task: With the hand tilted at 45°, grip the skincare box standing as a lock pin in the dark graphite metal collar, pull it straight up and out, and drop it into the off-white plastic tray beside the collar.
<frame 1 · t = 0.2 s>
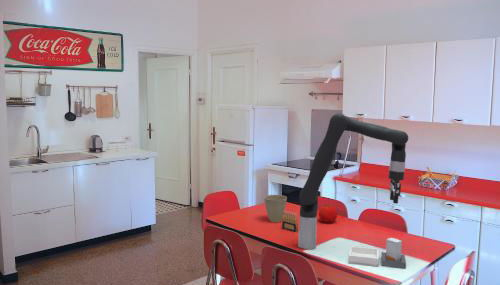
hand: (393, 201, 217), 28 cm above the table, tool pointing down, fingers open, 8 cm apart
tray: (363, 259, 214), on the table
plant pot: (275, 221, 279), on the table
ammunition clip: (289, 230, 260), on the table
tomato: (327, 222, 278), on the table
pin collar: (393, 263, 210), on the table
skincare box: (393, 263, 210), resting in pin collar
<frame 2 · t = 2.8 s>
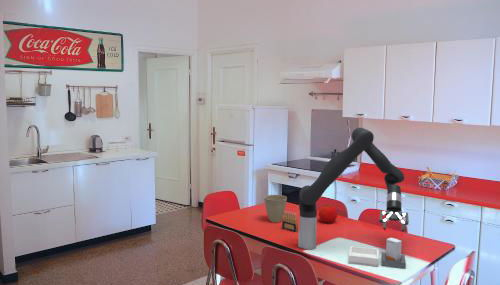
hand: (393, 230, 216), 14 cm above the table, tool tilted 45°, fingers open, 8 cm apart
nothing on the table moved.
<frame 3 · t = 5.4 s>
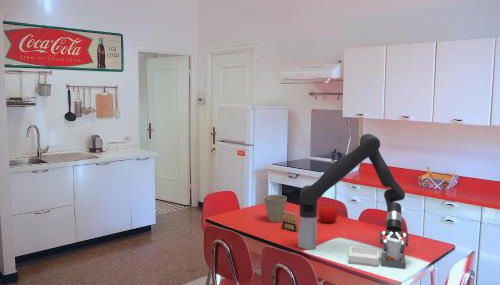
hand: (393, 251, 207), 6 cm above the table, tool tilted 45°, fingers closed on skincare box, 7 cm apart
skincare box: (393, 263, 210), resting in pin collar, touching gripper
everything else where it was.
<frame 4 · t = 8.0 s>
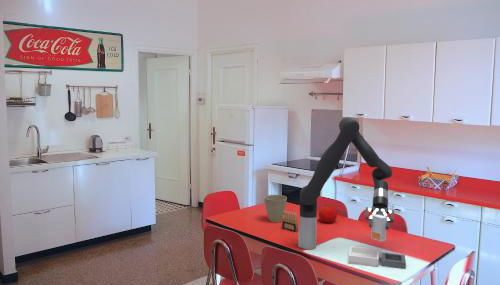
hand: (378, 227, 208), 18 cm above the table, tool tilted 45°, fingers closed on skincare box, 7 cm apart
skincare box: (378, 239, 210), point 11 cm above the table, touching gripper
everything else where it was.
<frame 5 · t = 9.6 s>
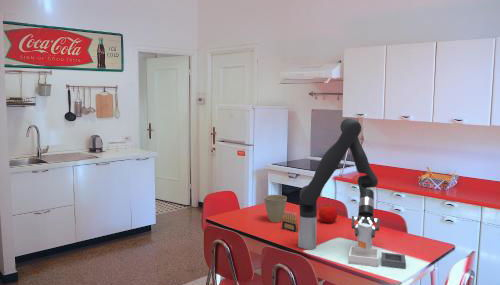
hand: (364, 236, 211), 12 cm above the table, tool tilted 45°, fingers closed on skincare box, 7 cm apart
skincare box: (364, 248, 213), point 6 cm above the table, touching gripper
everything else where it was.
when the fingers open (9 cm above the table, at t = 10.9 s): skincare box drops 2 cm, resting on tray.
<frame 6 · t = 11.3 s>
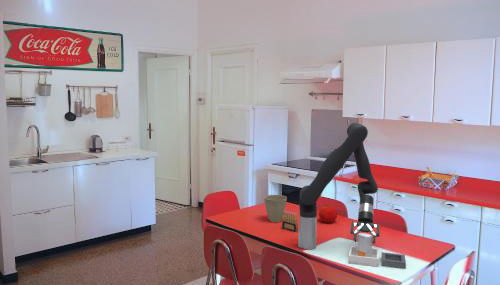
hand: (364, 242, 211), 9 cm above the table, tool tilted 45°, fingers open, 8 cm apart
skincare box: (364, 258, 214), point 1 cm above the table, touching tray
everything else where it was.
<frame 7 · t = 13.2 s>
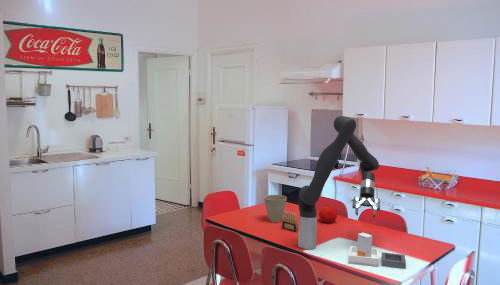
hand: (365, 215, 223), 19 cm above the table, tool tilted 45°, fingers open, 8 cm apart
nothing on the table moved.
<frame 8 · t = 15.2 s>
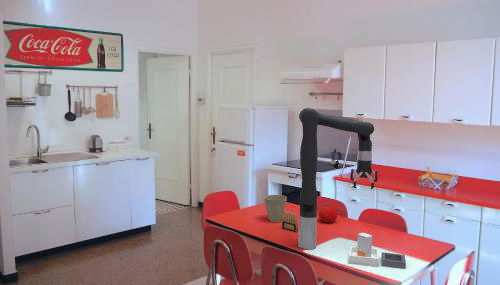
hand: (363, 188, 230), 32 cm above the table, tool pointing down, fingers open, 8 cm apart
nothing on the table moved.
at the end: skincare box inside the target area on the tray (0.3 cm from its centre), point 0.8 cm above the tray's base; the gripper is holding nothing; skincare box moved 13.9 cm from its start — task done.
